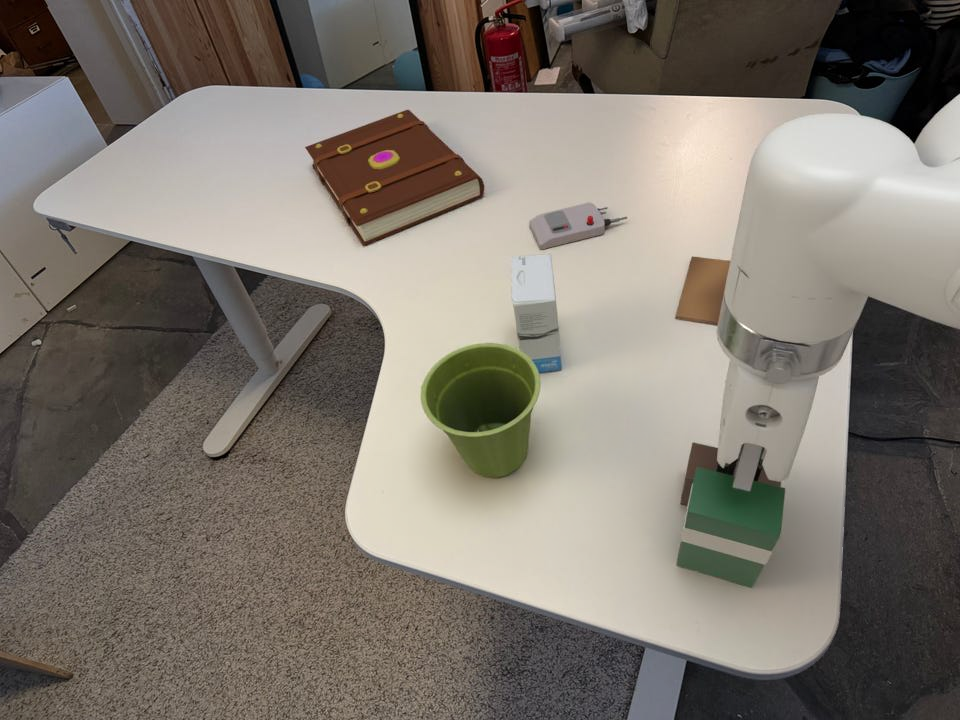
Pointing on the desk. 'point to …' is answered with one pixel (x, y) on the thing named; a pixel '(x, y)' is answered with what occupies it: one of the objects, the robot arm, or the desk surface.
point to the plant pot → (484, 404)
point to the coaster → (703, 290)
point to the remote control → (569, 225)
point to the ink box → (536, 310)
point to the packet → (730, 527)
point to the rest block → (707, 460)
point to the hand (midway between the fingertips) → (735, 474)
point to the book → (392, 175)
